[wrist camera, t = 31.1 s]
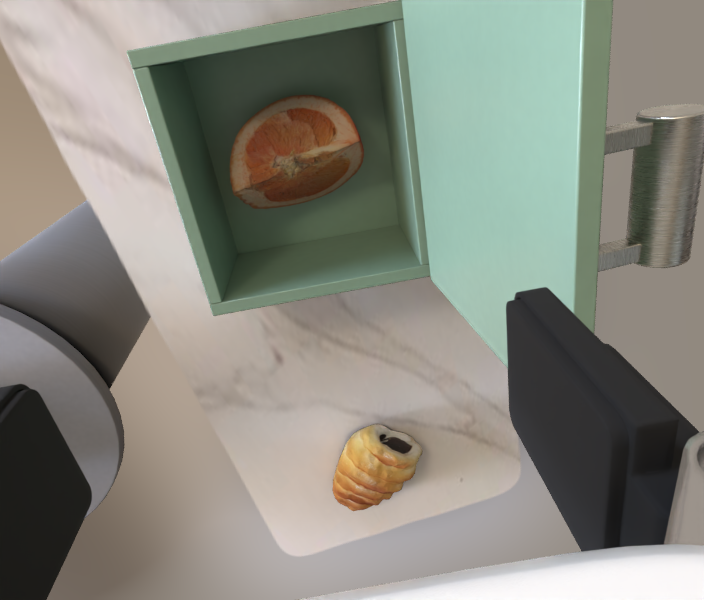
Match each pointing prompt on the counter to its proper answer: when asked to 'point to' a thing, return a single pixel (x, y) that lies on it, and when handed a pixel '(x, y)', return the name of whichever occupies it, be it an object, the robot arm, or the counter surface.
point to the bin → (305, 218)
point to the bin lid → (536, 156)
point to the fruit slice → (294, 152)
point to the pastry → (374, 466)
